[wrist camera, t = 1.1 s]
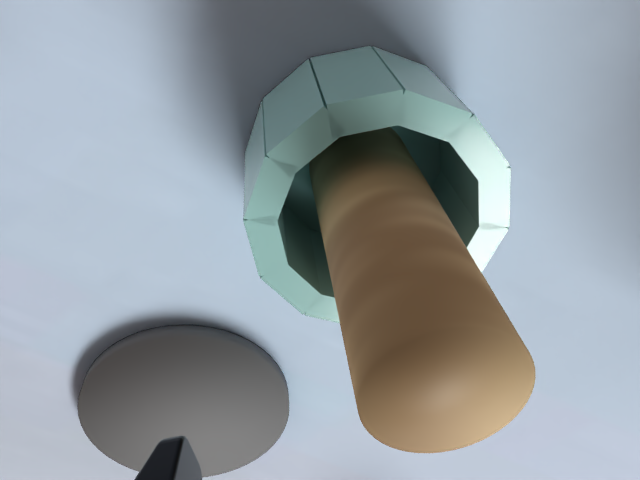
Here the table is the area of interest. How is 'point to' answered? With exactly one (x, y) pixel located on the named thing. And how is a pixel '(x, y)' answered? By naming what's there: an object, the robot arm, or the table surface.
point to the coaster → (184, 397)
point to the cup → (351, 118)
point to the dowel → (413, 303)
